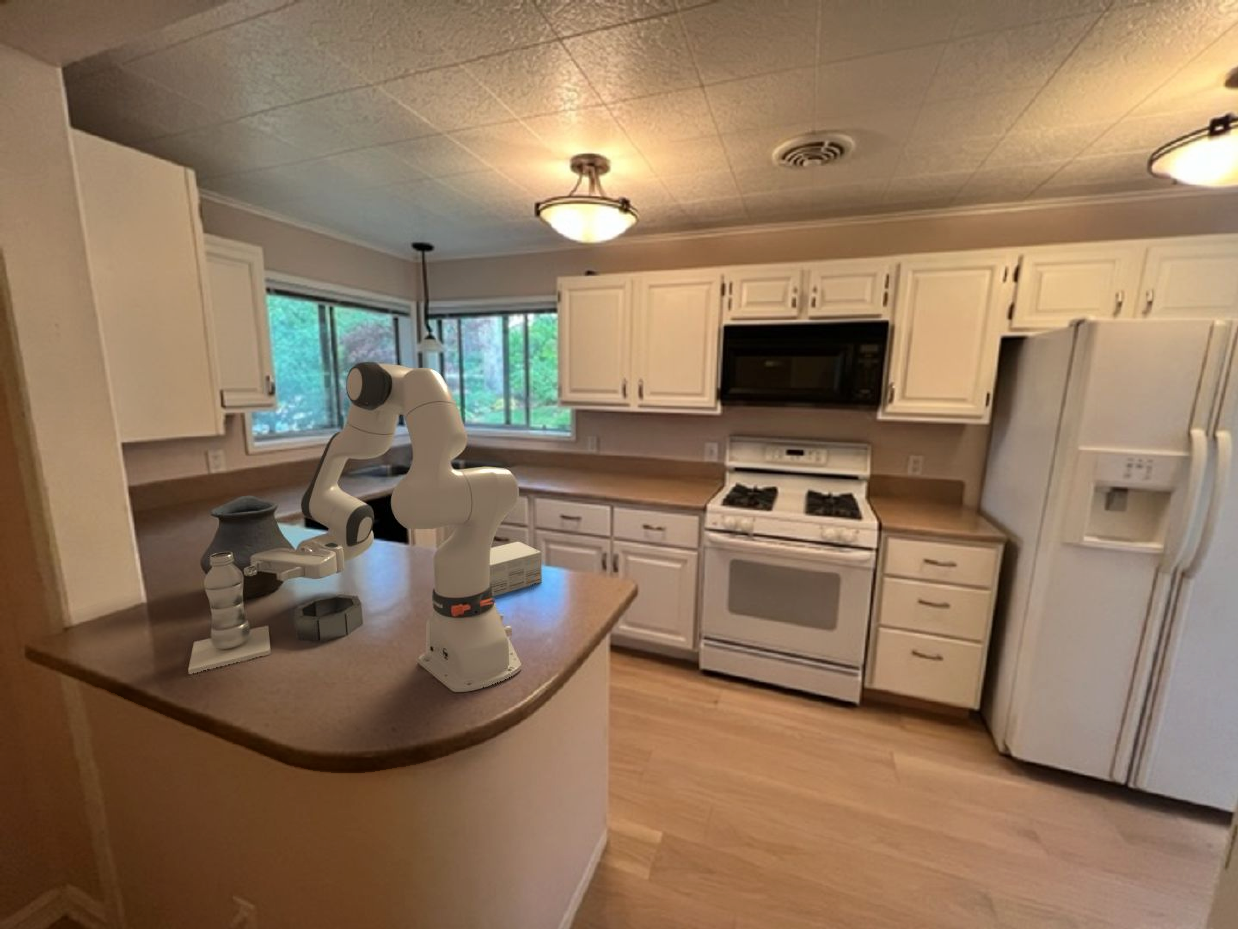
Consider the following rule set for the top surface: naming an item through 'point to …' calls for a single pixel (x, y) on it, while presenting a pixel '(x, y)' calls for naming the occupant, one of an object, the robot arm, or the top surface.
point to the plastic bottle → (226, 602)
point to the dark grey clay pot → (247, 539)
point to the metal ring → (328, 618)
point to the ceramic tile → (229, 651)
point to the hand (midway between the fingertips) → (262, 575)
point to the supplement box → (514, 567)
